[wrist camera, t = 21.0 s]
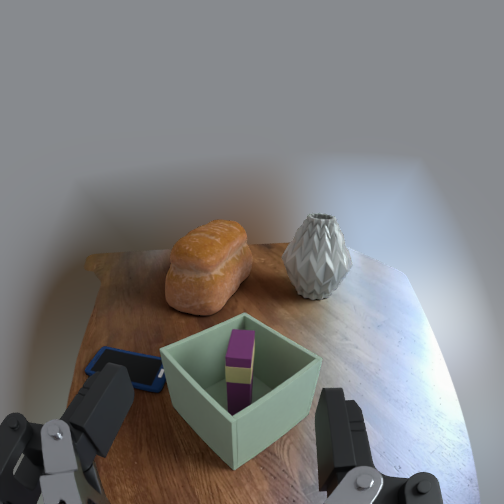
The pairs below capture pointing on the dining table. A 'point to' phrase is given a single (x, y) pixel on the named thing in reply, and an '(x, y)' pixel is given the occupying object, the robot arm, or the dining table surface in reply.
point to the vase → (317, 257)
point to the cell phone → (132, 367)
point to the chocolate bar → (239, 370)
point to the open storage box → (263, 392)
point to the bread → (207, 267)
